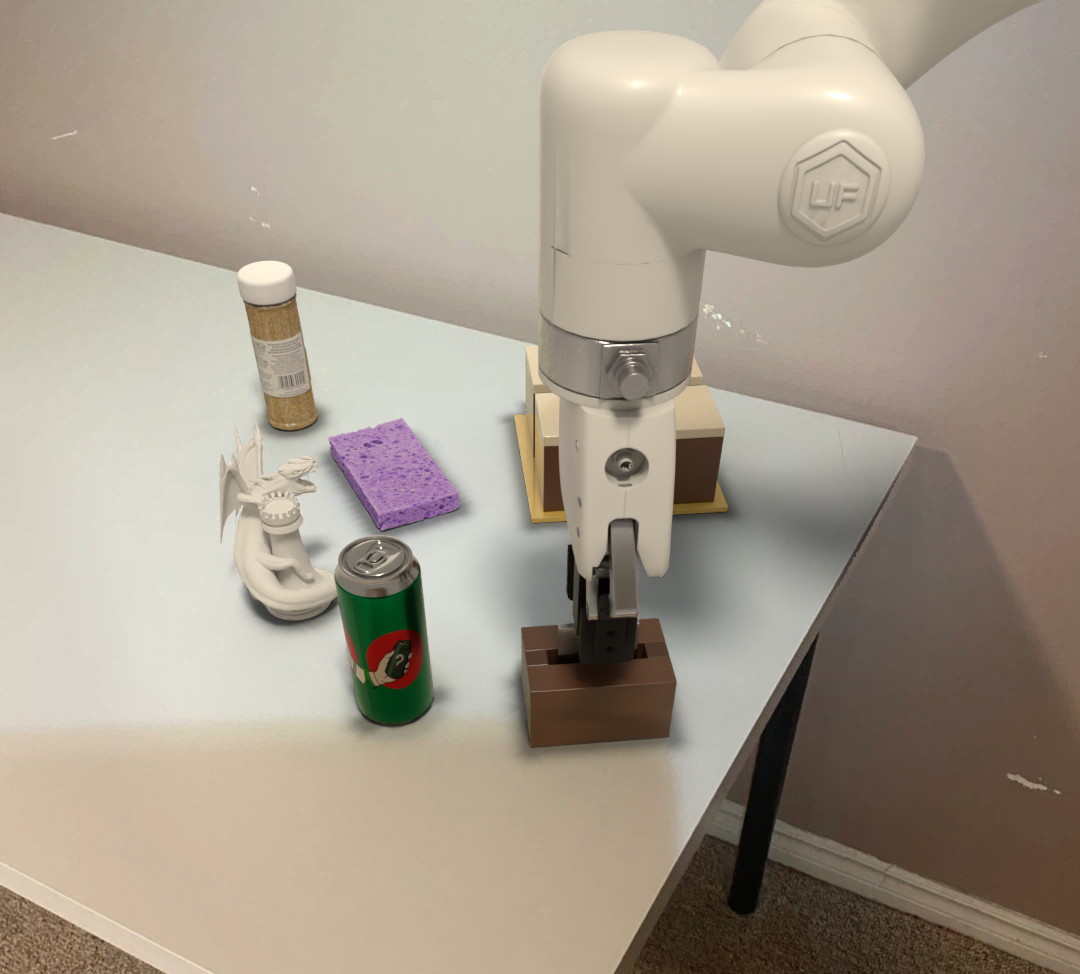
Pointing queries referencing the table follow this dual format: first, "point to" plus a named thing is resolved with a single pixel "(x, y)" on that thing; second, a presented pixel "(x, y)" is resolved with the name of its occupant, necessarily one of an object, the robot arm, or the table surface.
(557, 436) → the cake
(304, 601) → the figurine
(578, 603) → the knife
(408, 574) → the soda can
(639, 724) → the knife stand
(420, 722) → the table surface
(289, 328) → the spice jar
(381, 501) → the sponge
